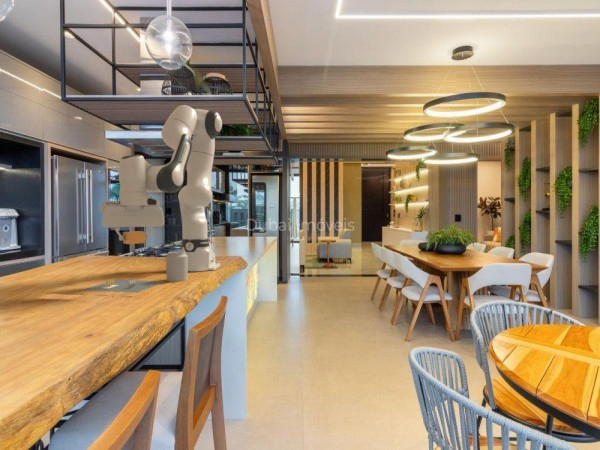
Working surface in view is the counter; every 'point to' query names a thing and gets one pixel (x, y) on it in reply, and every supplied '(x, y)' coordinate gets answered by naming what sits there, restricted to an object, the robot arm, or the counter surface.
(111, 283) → the header board
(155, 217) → the robot arm
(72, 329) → the counter surface
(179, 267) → the can
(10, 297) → the counter surface
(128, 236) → the orange rectangular block
